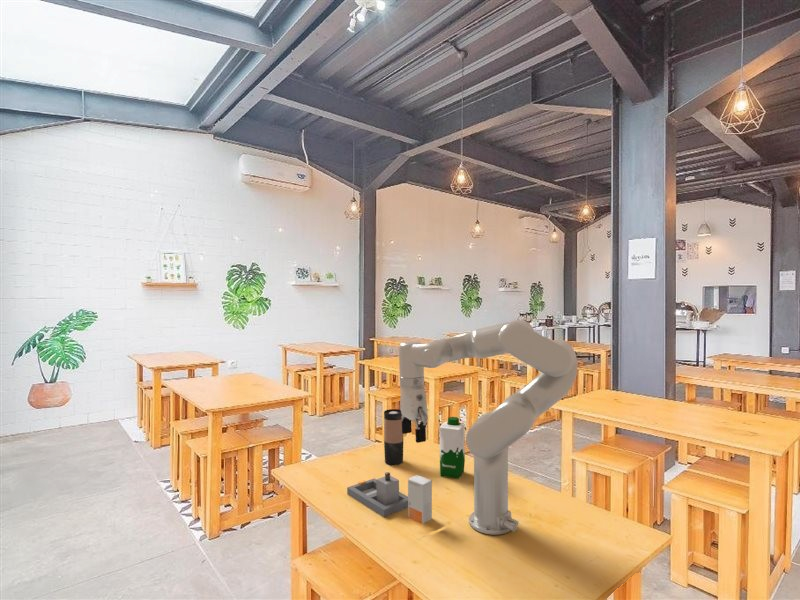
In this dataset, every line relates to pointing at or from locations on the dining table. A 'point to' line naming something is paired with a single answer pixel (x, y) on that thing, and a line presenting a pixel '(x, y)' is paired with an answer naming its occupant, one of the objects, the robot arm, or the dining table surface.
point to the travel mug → (393, 437)
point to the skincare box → (420, 499)
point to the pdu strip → (375, 498)
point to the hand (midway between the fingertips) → (413, 437)
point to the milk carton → (452, 448)
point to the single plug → (387, 489)
